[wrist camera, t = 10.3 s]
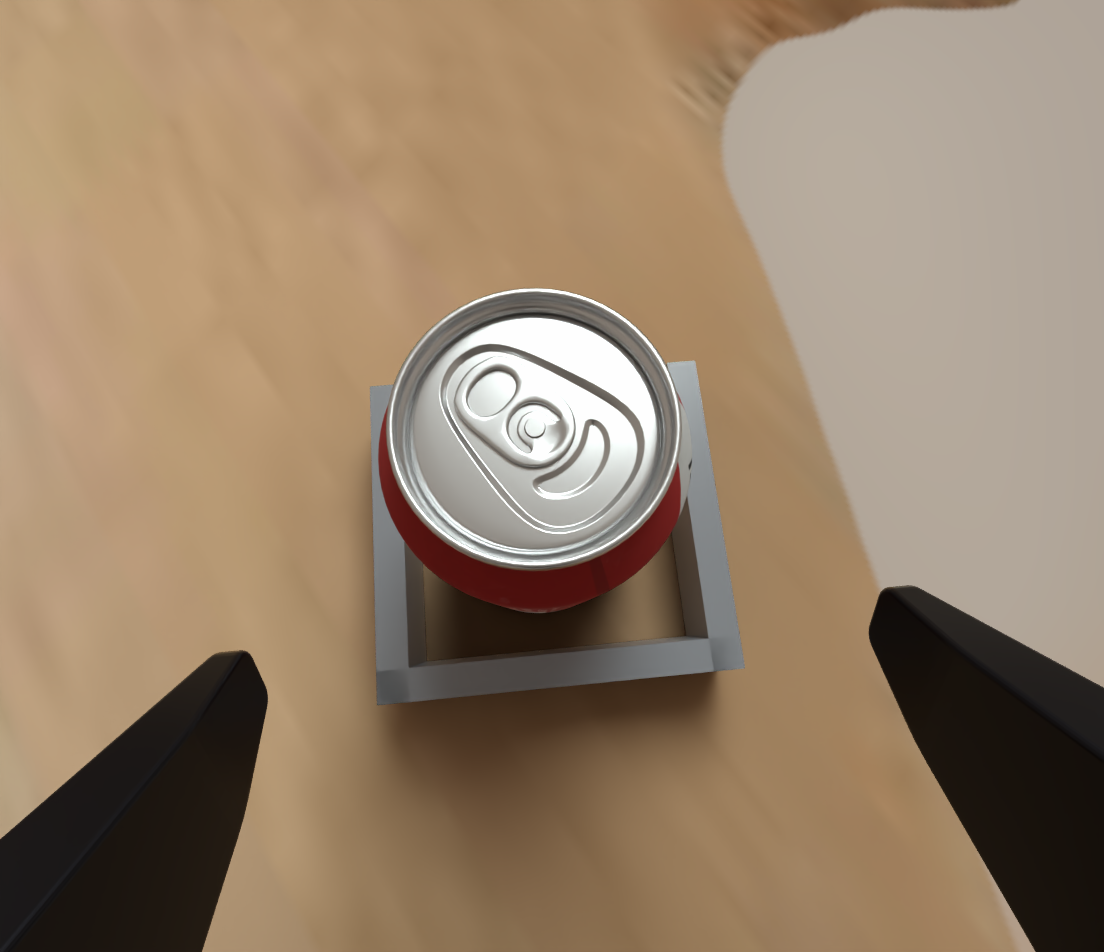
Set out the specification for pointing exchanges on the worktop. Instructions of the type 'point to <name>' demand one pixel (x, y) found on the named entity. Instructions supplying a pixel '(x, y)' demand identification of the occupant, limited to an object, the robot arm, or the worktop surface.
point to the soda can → (534, 449)
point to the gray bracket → (699, 651)
